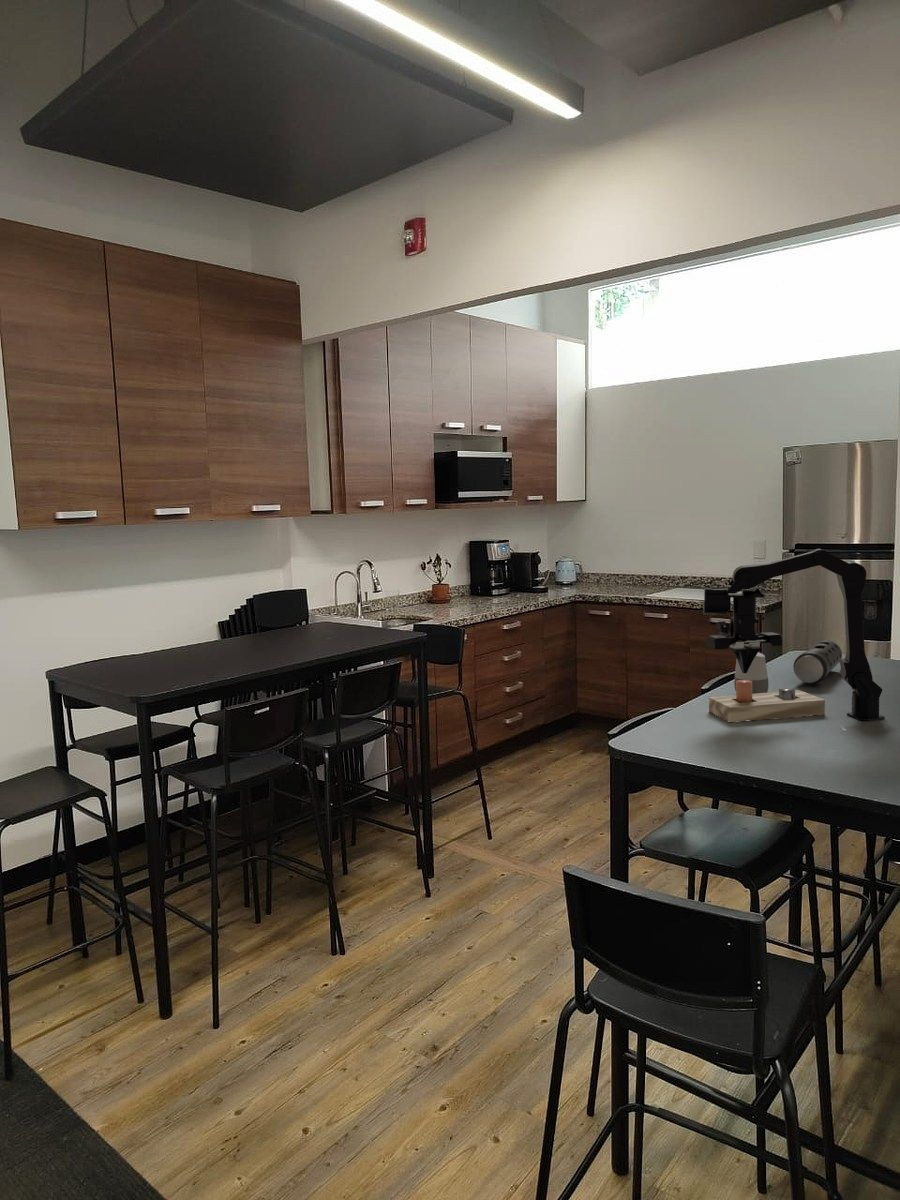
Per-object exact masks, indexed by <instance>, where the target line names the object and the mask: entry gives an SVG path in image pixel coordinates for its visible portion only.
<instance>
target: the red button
mask: <svg viewBox="0 0 900 1200" xmlns="http://www.w3.org/2000/svg"><path fill="white" fill-rule="evenodd" d="M735 695H736V701H737V702H739V703H747V702H752V681H749V680H738V681H736V691H735Z"/></svg>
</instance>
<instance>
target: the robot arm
mask: <svg viewBox="0 0 900 1200" xmlns="http://www.w3.org/2000/svg"><path fill="white" fill-rule="evenodd" d="M817 566H818V567H819V566H820V567H822V568H824V569H826V570H828V571H829V572H831V573H834V574H835V575H836V578H837V582H838V587H839V590H840V592H841V595H842V598H843V610H844V611H843V612H844V625H845V642H846V643H845V646H846V651H845V652H846V653H845V656H844V658H840V659H839V665H840V670H839V675H840V676H841V677H842V678H843V680H844V682H846V683H847V684H848V686H849V687H851V689H852V692H851V694H852V696H851V712H846V715H847V716H849V717H850V718H851V717H852V718H854V719H857V720H859V721H870V720H873V721H874V720H884V719H885V718H886V717H885V715H881V714H880V698H881V694H882V692H883V687H881V686H880V685H879V684H878V683H876V682H875V681H874V679H873V674H872V673H873V672H872V670H871V667H870V663H869V661H868V658H867V655H866V652H865V651H866V650H865V648H866V647H865V632H864V631H865V630H864V629H865V628H864V617H863V616H864V612H863V595H864V591H865V588H866V583H867V582H866V581H867V574H868V573H867V570H866V568H865V567H864V566H863V565H862V564H860V563H857V562H854V561H851V560H850V561H848V560H847V561H846V560H844V559H843V560H842V559H841V558H839V557H837V556H835V555H832V554H830V553H828V551H826V550H825V549H821V548H816V549H814V550H812V551H808V552H806V553H802V554H797V555H794V556H790V557H786V558H783V559H778V560H775V561H771V562H769V563H768V562H767V563H758V564H757V563H756V564H755V563H754V564H745V565H739V566H737V567H736V568H735V569H734V571H733V572H732V579H731V580H730V581H729V583H728V584H726V586H725V588H706V587H705V588H704V590H703V591H704V594H703V595H704V597H703V599H702V601H703V602H702V603H703V605H702V606H703V609H702V610H703V615H727V612H729V611H731V607H732V606H733V607H732V616H730V619H729V620H730V621H729V623H727V622H726V621H724V620H723V621H717V622H716V628H715V629H716V634H718V635H716V634H715V635H708V637H707V638H706V642H705V645H706V647H707V648H711V649H714V650H728V649H729V650H731V651H732V652H733V653H734V655H735V658H736V660H738V663H739V666H740V668H741V671H742V673H747V672H748V670H749V668H750V666H751V664H752V662H753V660H754V658H755V656H756V655H757V653H758V652H759V653H760V651H763V647H762V646H760V645H761V644H770V645H771V646H772V647H779V646H781V647H782V646H784V638H783V636H782V634H780V633H777V632H772V631H771V632H768V631H767V632H760V633H759V634H758V633H757V624H759V622H760V621H759V620H760V619H759V618H757V598H765V594H764V593H763V592H761V590H760V589H759V587H756V586H759V585H761V584H764V583H765V582H767V581H768V580H771V579H773V578H777V577H780V576H784V575H787V574H791V573H795V572H798V571H802V570H806V569H811V568H814V567H817ZM754 587H755V588H754ZM753 588H754V589H753ZM751 589H753V590H751ZM740 591H741V593H739V592H740ZM731 599H732V600H731ZM731 601H732V602H731Z"/></svg>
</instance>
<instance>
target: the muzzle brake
mask: <svg viewBox="0 0 900 1200" xmlns="http://www.w3.org/2000/svg"><path fill="white" fill-rule="evenodd" d="M840 658H841V659H843V651H842V648H841V647H840V646H839V645H838V644H837V643H836V642H834V641H832V640H821V641H818V642H817V643H815V644H814V645H813V646H812V647H810V648H809V649H808V650H806V651H804V652H802V653H801V654H799V655H798V656H797V657H796V658H795V660H794V663H793V671H794V672H793V673H794V675H795V676H796V678H797V679H798V680H800V681H801V682H802V683H806V684H810V685H811V684H812V685H813V684H818V683H820V682H822V681H823V680H825V678H827V676H828V675H829V673H830V672H831V671H832V670H833V669H834V668H836V666H837V665H839V664H840V662H839V659H840Z"/></svg>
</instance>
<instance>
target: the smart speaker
mask: <svg viewBox="0 0 900 1200" xmlns="http://www.w3.org/2000/svg"><path fill="white" fill-rule="evenodd" d="M735 662H736V663H735V669H734V670H735V671H734V672H735V673H734V691H735V692H736V681H738V680H749V681H752V694H757V693H769V676H768V669H767V663H766V655H765V654H763V653H761V652H760V651H759V652H758V653H757V655H756V656H755V658H754V660H753V662H752V664H751V666H750V668H749V670H748V672H747V673H742V671H741V668H740V666H739V663H738V660H737V659H736V660H735Z"/></svg>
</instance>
